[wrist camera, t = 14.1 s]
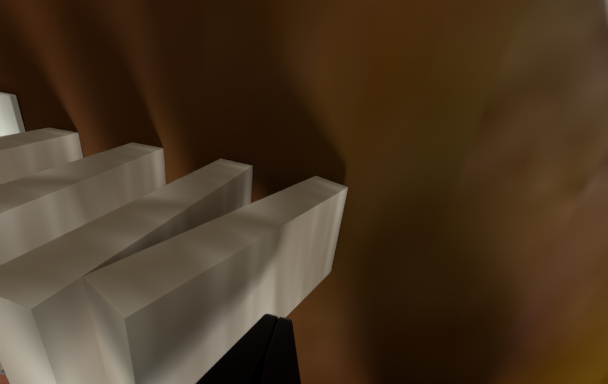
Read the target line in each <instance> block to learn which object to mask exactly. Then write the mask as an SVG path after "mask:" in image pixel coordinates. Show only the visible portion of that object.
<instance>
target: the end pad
mask: <svg viewBox="0 0 608 384" xmlns="http://www.w3.org/2000/svg"><path fill="white" fill-rule="evenodd" d="M22 132H25V128H24V124H23V121H22V117H21V113H20V109H19V106H18V102H17V98H16V95H13V94H7V93H2V92H0V137H1V136H6V135H11V134H17V133H22Z"/></svg>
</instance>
